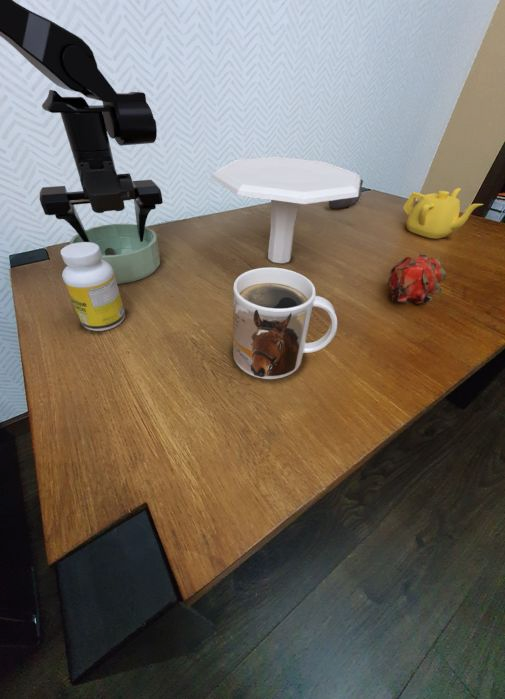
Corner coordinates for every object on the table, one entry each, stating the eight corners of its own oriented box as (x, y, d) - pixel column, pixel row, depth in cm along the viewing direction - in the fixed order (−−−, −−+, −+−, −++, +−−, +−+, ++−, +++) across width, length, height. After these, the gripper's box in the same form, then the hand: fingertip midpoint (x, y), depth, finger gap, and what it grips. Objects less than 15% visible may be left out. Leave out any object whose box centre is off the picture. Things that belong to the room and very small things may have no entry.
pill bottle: (82, 312, 49) (54, 241, 42) (125, 305, 51) (105, 236, 44) (81, 336, 45) (49, 263, 37) (127, 328, 47) (106, 256, 39)
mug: (265, 322, 49) (271, 257, 42) (331, 358, 44) (351, 291, 36) (218, 355, 43) (215, 286, 36) (287, 401, 38) (300, 331, 30)
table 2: (366, 257, 69) (392, 173, 58) (298, 310, 52) (315, 207, 41) (267, 224, 81) (272, 150, 70) (186, 258, 65) (177, 169, 54)
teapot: (464, 244, 77) (486, 202, 70) (409, 239, 77) (426, 197, 71) (443, 224, 87) (461, 185, 80) (395, 220, 88) (409, 181, 81)
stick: (120, 273, 58) (109, 273, 57) (115, 256, 64) (104, 255, 63) (121, 263, 57) (109, 263, 56) (114, 246, 62) (104, 245, 61)
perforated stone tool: (334, 213, 90) (339, 187, 85) (320, 208, 93) (324, 183, 88) (363, 204, 97) (369, 180, 93) (349, 200, 100) (354, 176, 96)
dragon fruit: (424, 295, 61) (389, 324, 56) (400, 259, 61) (363, 286, 56) (466, 275, 53) (429, 308, 48) (438, 235, 53) (398, 263, 48)
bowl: (82, 292, 54) (71, 262, 50) (77, 255, 64) (67, 229, 60) (169, 276, 59) (164, 248, 55) (151, 245, 69) (147, 220, 65)
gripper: (18, 162, 40) (63, 272, 50) (163, 155, 46) (176, 254, 57) (23, 146, 47) (61, 245, 57) (147, 142, 53) (161, 232, 64)
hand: (116, 244), depth 59 cm, fingers open, 9 cm apart
